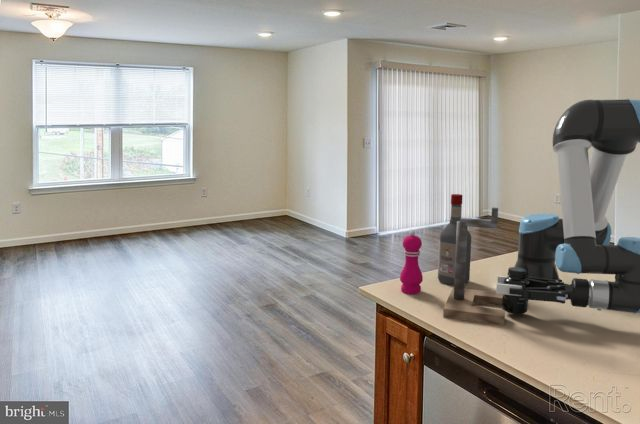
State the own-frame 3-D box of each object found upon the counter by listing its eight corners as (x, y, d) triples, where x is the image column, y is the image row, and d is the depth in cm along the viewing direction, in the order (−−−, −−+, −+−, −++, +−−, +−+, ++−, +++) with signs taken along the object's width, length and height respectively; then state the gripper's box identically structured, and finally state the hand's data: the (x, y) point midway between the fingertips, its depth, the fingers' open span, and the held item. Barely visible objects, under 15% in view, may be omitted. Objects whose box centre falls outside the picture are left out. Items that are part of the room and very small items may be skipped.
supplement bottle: (525, 316, 137) (528, 274, 135) (499, 311, 140) (501, 270, 138) (529, 308, 143) (532, 267, 141) (504, 304, 146) (506, 264, 144)
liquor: (458, 287, 166) (461, 197, 161) (434, 281, 172) (437, 194, 167) (472, 281, 172) (476, 194, 167) (448, 275, 179) (452, 192, 173)
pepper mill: (422, 295, 158) (424, 233, 155) (399, 294, 159) (400, 232, 156) (422, 288, 165) (424, 228, 162) (400, 287, 166) (401, 228, 163)
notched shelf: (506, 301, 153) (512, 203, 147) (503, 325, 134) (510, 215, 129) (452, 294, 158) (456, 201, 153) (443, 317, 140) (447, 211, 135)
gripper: (591, 320, 125) (494, 308, 134) (582, 295, 144) (497, 286, 152) (594, 291, 124) (496, 281, 132) (584, 270, 142) (499, 262, 151)
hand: (497, 284), depth 142 cm, fingers closed on supplement bottle, 7 cm apart
